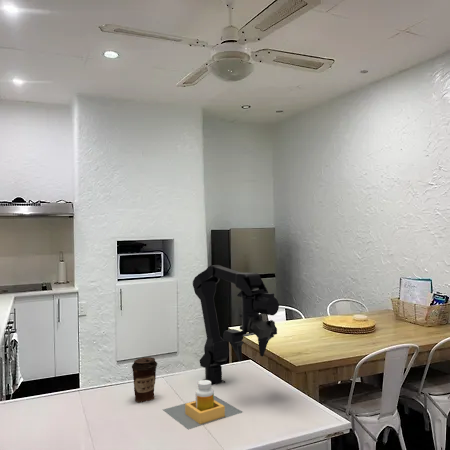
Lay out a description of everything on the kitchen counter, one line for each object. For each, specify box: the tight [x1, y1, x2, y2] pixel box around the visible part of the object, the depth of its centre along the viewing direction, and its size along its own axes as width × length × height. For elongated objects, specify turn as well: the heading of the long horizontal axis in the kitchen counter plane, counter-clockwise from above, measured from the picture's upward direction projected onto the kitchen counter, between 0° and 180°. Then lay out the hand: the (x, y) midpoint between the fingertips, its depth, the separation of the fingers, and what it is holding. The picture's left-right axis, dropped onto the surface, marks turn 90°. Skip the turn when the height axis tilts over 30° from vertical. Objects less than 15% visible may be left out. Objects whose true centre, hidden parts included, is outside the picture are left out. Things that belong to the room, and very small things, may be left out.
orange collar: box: [184, 400, 225, 424], centre depth 123 cm, size 8×8×3 cm
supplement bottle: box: [195, 379, 215, 411], centre depth 123 cm, size 5×5×10 cm
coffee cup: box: [131, 356, 158, 403], centre depth 137 cm, size 9×8×13 cm
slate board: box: [162, 395, 243, 430], centre depth 126 cm, size 16×19×1 cm
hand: (251, 358), depth 137 cm, fingers open, 9 cm apart
